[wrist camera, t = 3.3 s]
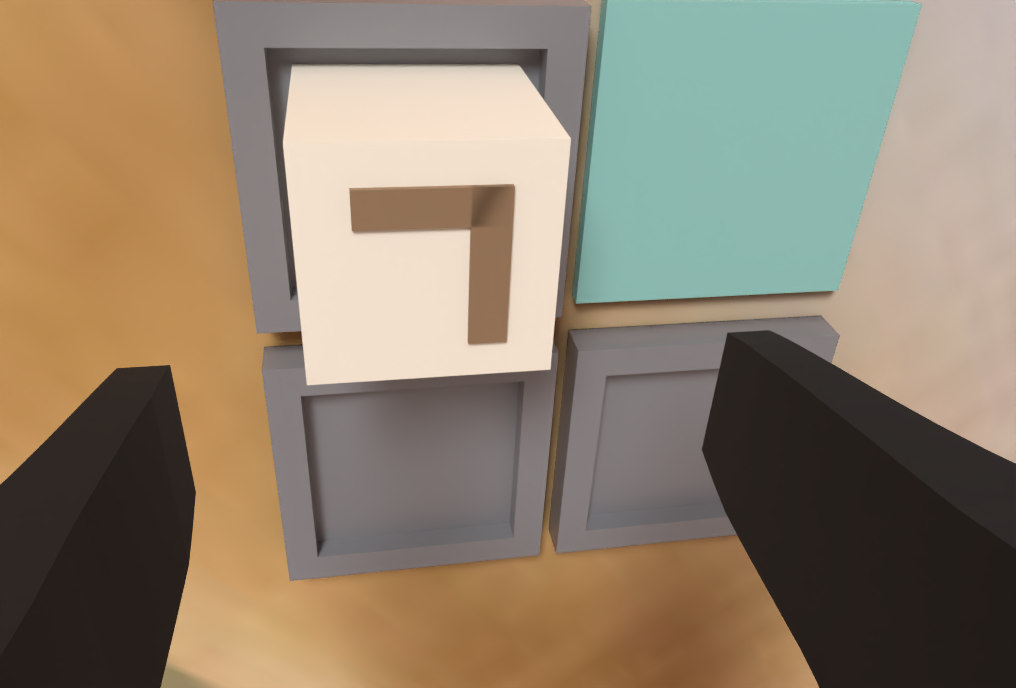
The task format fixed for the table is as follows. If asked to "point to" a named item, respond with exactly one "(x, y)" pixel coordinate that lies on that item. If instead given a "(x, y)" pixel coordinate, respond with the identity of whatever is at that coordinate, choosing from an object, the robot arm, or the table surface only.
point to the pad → (733, 143)
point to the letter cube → (423, 219)
